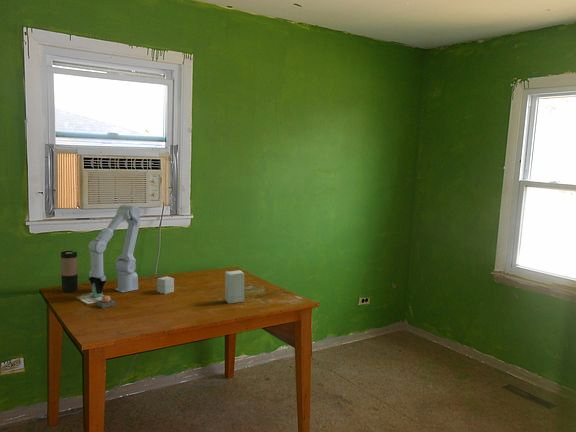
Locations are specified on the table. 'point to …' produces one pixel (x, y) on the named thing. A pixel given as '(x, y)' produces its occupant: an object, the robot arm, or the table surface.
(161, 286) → the skincare box
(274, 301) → the table surface
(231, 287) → the skincare box
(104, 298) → the button
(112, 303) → the button housing
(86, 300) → the clipboard with paper sheet
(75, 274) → the travel mug
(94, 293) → the teal banded box
